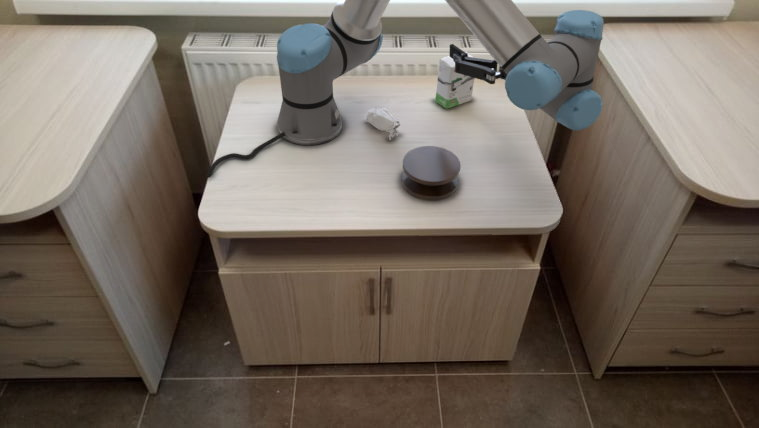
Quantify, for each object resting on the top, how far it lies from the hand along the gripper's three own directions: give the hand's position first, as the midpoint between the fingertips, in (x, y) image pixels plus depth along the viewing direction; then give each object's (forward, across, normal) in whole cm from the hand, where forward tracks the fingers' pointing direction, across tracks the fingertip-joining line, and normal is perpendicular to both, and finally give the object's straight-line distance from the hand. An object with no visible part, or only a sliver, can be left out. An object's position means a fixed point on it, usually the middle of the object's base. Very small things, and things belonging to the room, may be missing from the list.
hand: (477, 43), depth 121 cm
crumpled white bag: (+6, -22, -18) cm, 29 cm away
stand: (-17, -21, -20) cm, 34 cm away
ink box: (+10, 0, -19) cm, 22 cm away
